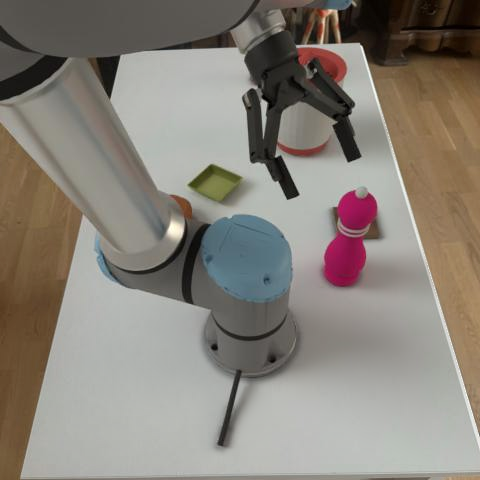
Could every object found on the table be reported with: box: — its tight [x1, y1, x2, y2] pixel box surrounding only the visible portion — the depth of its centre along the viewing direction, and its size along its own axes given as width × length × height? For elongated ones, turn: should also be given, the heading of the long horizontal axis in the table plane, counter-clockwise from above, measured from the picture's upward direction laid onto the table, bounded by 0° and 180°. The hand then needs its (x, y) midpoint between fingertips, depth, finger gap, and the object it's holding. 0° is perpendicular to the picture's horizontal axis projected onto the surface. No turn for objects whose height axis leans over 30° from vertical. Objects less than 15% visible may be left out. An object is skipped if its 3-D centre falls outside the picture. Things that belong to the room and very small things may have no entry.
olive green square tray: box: [187, 163, 243, 203], centre depth 94 cm, size 9×9×2 cm
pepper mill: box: [323, 185, 379, 288], centre depth 73 cm, size 7×7×20 cm
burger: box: [167, 193, 195, 220], centre depth 88 cm, size 10×9×5 cm
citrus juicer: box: [277, 46, 348, 157], centre depth 94 cm, size 16×17×20 cm
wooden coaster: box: [331, 206, 380, 240], centre depth 87 cm, size 8×8×1 cm
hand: (325, 178), depth 70 cm, fingers open, 13 cm apart
